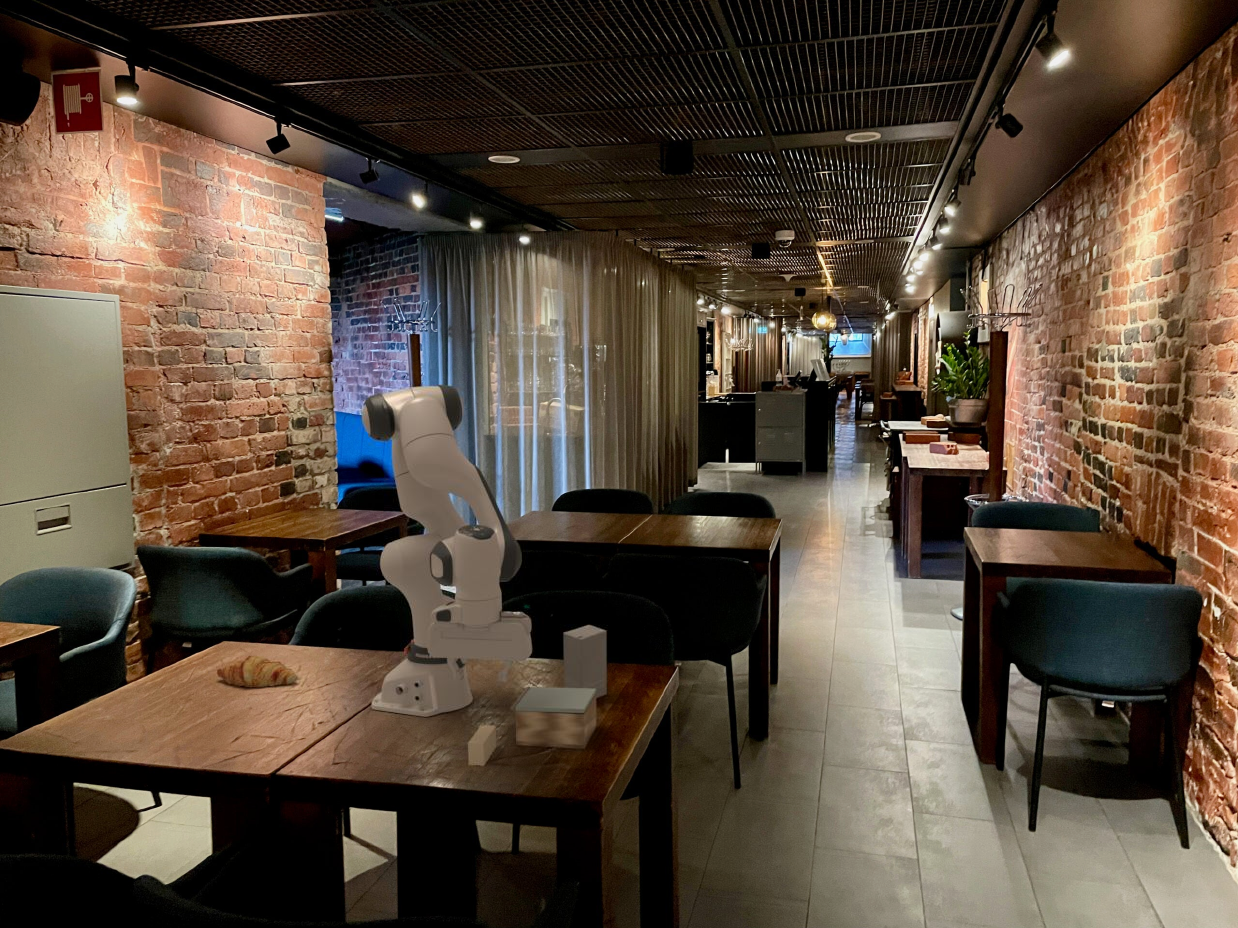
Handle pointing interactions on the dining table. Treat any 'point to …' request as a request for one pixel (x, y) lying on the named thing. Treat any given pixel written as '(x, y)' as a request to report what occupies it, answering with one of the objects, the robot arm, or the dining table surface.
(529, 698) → the lid
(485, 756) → the tan rectangular block
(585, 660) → the skincare box
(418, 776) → the dining table surface
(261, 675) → the croissant
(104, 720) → the dining table surface
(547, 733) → the crate
